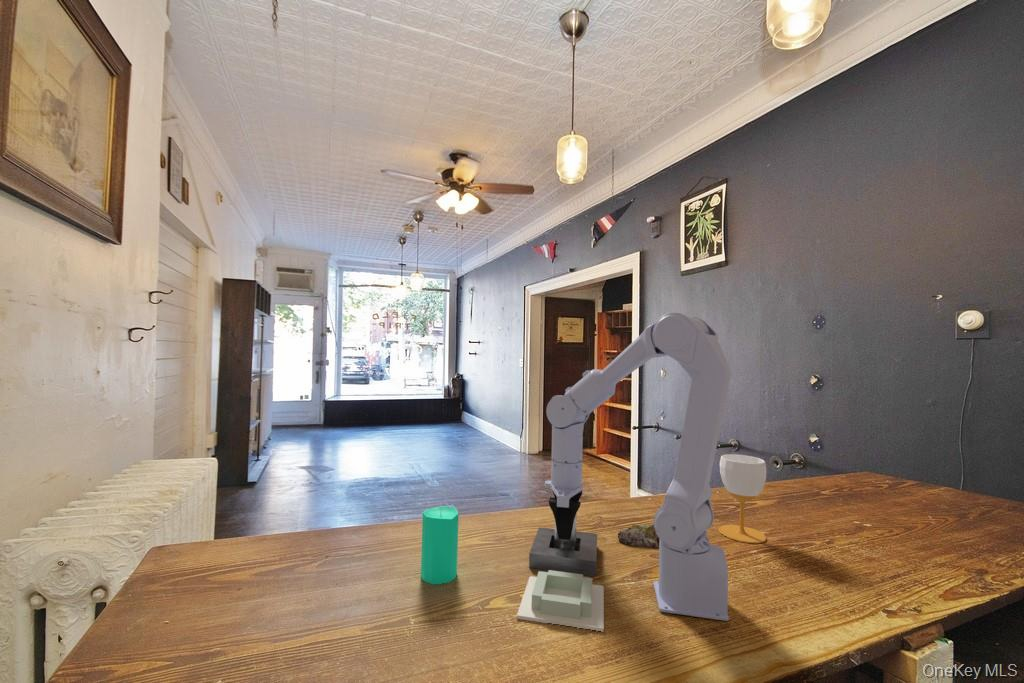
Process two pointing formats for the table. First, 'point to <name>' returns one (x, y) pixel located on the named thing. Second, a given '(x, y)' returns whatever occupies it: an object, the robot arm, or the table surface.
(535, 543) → the socket block
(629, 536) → the mineral rock
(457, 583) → the table surface
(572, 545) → the smooth metal cylinder
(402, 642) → the table surface
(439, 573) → the candle
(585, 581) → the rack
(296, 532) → the table surface
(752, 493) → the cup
